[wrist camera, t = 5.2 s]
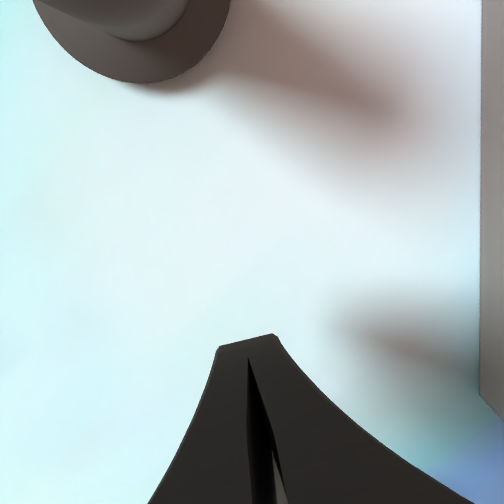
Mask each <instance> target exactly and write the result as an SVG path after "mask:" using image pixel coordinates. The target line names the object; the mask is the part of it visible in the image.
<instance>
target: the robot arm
mask: <svg viewBox="0 0 504 504" xmlns="http://www.w3.org/2000/svg"><path fill="white" fill-rule="evenodd" d="M272 452H273V455H272ZM273 456H274V459H275V462H276V465H277V469H278V472H279V475H280V478H281V482H282V485H283V488H284V492H285V495H286V498H287V501H288V504H474V503H473V502H471V501H469V500H467V499H466V498H464V497H462V496H460V495H459V494H457V493H456V492H454V491H452V490H451V489H449V488H448V487H446V486H445V485H443V484H441V483H440V482H438V481H437V480H435V479H434V478H432V477H430V476H429V475H427V474H426V473H424V472H423V471H421V470H419V469H418V468H416V467H415V466H413V465H412V464H410V463H408V462H407V461H406V460H404V459H403V458H401V457H400V456H399V455H397V454H396V453H394V452H393V451H392V450H390V449H389V448H388V447H386V446H385V445H383V444H382V443H381V442H379V441H378V440H377V439H376V438H374V437H373V436H372V435H370V434H369V433H368V432H367V431H365V430H364V429H363V428H362V427H360V426H359V425H358V424H357V423H356V422H354V421H353V420H352V419H351V418H350V417H349V416H347V415H346V414H345V413H344V412H343V411H342V410H341V409H340V408H339V407H338V406H336V405H335V404H334V403H333V402H332V401H331V400H330V399H329V398H328V397H327V396H326V395H325V394H324V393H323V392H322V391H321V390H320V389H319V388H318V387H317V386H316V385H315V384H314V383H313V382H312V381H311V380H310V379H309V377H308V376H307V375H306V374H305V373H304V372H303V371H302V370H301V369H300V367H299V366H298V365H297V364H296V363H295V361H294V360H293V359H292V358H291V356H290V355H289V354H288V352H287V351H286V350H285V348H284V347H283V345H282V344H281V342H280V340H279V338H278V337H277V336H276V335H274V334H272V333H271V334H267V335H263V336H259V337H255V338H251V339H247V340H243V341H238V342H234V343H230V344H226V345H222V346H219V348H218V349H217V351H216V353H215V357H214V361H213V365H212V368H211V371H210V374H209V377H208V380H207V383H206V386H205V389H204V391H203V394H202V396H201V399H200V401H199V404H198V407H197V409H196V412H195V414H194V416H193V419H192V421H191V423H190V425H189V427H188V429H187V431H186V434H185V436H184V438H183V440H182V442H181V444H180V446H179V448H178V451H177V452H176V454H175V456H174V458H173V460H172V462H171V464H170V466H169V468H168V469H167V471H166V473H165V475H164V477H163V478H162V480H161V482H160V484H159V485H158V487H157V489H156V490H155V492H154V494H153V496H152V497H151V499H150V501H149V502H148V504H278V502H277V493H276V483H275V474H274V464H273Z"/></svg>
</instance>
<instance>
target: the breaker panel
mask: <svg viewBox="0 0 504 504" xmlns="http://www.w3.org/2000/svg"><path fill="white" fill-rule="evenodd" d="M479 395H480V396H481V397H482V398H483V399H484V400H485V401H486V403H487V404H488V405H489V406H490V407H491V408H492V409H493V411H494V412H495V413H496V414H497V415H498V416H499V417H500V418H501V420H502V421H503V422H504V0H482V40H481V203H480V366H479Z"/></svg>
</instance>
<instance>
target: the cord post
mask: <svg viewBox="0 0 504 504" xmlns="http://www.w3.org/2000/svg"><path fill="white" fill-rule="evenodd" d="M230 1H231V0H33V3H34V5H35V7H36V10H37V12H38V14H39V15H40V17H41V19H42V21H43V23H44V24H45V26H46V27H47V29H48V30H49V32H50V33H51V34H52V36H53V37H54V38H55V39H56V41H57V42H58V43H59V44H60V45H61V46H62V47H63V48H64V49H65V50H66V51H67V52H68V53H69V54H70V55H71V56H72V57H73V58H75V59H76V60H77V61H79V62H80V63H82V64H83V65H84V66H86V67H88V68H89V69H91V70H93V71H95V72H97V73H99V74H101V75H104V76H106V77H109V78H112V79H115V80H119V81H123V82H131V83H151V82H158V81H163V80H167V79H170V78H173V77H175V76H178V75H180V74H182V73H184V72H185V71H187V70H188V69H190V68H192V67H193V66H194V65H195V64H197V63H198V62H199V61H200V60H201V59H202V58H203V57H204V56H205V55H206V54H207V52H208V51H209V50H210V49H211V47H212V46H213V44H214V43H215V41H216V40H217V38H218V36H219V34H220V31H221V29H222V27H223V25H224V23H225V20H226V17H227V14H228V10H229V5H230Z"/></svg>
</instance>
